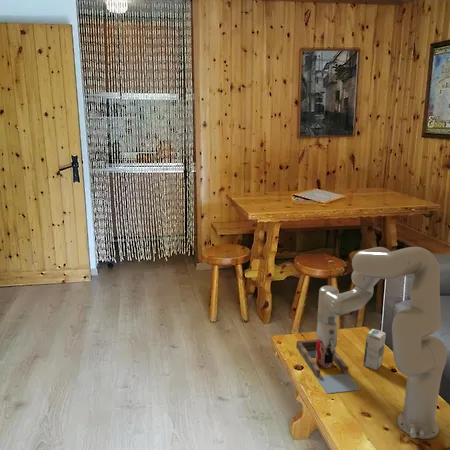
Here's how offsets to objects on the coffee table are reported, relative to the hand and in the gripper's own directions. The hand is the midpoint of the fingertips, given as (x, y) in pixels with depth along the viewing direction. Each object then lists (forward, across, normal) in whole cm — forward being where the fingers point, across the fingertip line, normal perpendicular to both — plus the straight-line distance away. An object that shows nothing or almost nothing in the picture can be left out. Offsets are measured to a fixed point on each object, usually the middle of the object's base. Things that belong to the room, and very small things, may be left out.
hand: (324, 357), depth 186 cm
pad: (+3, -13, 0) cm, 14 cm away
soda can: (+4, 0, 0) cm, 4 cm away
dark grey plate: (+3, +9, 0) cm, 10 cm away
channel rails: (+3, +3, 0) cm, 5 cm away
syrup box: (+4, -4, -19) cm, 20 cm away
